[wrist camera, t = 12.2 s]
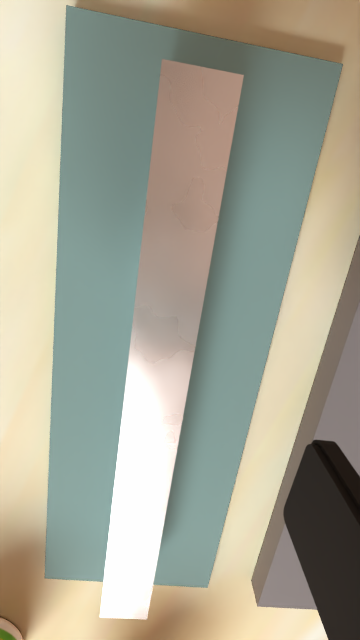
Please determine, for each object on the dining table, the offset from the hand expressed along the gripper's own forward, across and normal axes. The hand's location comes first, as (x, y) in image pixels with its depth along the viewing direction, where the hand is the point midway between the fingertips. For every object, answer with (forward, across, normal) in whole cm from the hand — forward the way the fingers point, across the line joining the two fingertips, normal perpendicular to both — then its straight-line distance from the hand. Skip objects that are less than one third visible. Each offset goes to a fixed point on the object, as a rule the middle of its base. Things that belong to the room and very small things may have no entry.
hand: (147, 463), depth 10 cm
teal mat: (+7, 0, +1) cm, 7 cm away
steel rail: (+6, 0, +1) cm, 7 cm away
